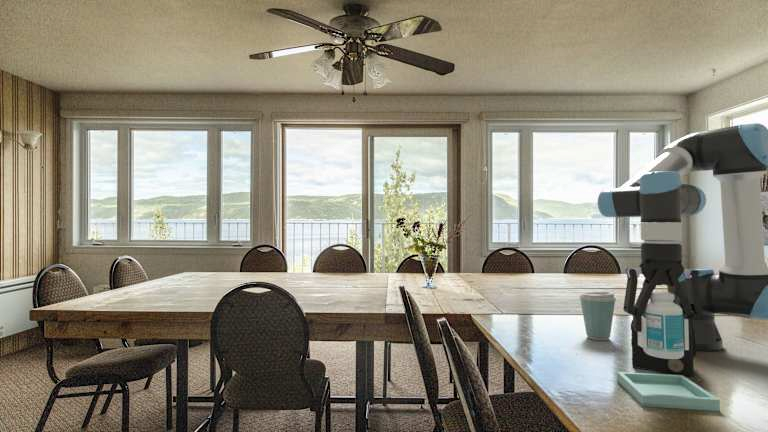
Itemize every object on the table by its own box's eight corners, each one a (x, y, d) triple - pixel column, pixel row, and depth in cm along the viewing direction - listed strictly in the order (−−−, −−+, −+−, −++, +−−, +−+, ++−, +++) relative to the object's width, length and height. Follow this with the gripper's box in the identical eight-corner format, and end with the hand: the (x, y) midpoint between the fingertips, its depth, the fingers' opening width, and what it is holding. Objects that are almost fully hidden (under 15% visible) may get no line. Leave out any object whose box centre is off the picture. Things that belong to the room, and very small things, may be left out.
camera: (698, 379, 100) (696, 316, 101) (630, 369, 108) (629, 310, 108) (693, 366, 110) (692, 309, 110) (632, 358, 117) (631, 304, 117)
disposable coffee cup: (581, 340, 135) (580, 293, 135) (579, 332, 145) (578, 289, 145) (618, 344, 131) (618, 295, 131) (614, 335, 141) (613, 290, 141)
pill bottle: (679, 352, 93) (678, 291, 94) (687, 362, 87) (686, 296, 87) (640, 348, 96) (639, 289, 97) (645, 357, 90) (644, 294, 90)
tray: (682, 384, 97) (682, 375, 97) (719, 411, 83) (719, 399, 83) (617, 381, 100) (617, 371, 100) (642, 406, 86) (642, 395, 86)
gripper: (702, 242, 94) (705, 344, 94) (605, 241, 98) (606, 340, 97) (723, 243, 87) (726, 355, 86) (617, 242, 90) (618, 350, 90)
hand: (662, 347), depth 92 cm, fingers closed on pill bottle, 7 cm apart
